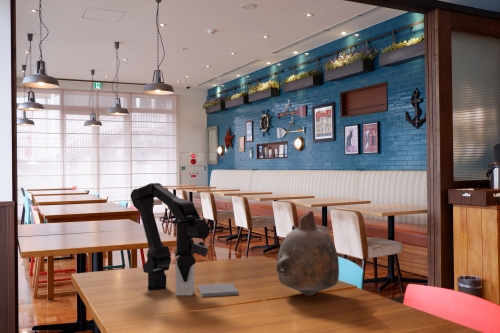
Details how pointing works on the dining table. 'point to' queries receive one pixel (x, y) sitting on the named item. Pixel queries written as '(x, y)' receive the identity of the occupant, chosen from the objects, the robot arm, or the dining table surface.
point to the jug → (308, 258)
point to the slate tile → (218, 290)
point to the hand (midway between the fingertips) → (184, 280)
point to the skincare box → (182, 286)
